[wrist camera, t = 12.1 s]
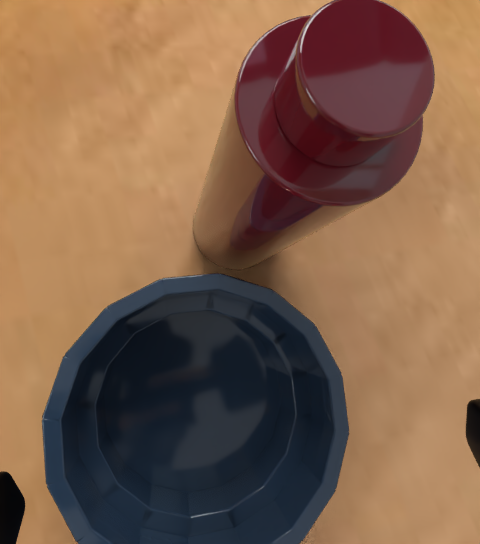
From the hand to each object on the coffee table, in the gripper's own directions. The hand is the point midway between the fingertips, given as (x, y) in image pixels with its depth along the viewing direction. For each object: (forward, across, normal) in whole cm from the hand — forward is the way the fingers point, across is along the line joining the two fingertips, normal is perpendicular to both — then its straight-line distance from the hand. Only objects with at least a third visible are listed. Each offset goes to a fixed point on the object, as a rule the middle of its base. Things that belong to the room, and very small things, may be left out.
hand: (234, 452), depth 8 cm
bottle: (+14, 0, 0) cm, 14 cm away
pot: (+9, +3, +6) cm, 12 cm away
